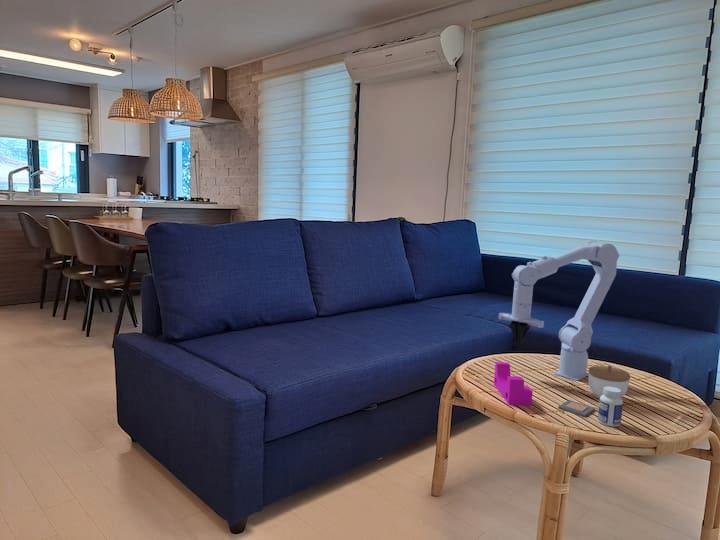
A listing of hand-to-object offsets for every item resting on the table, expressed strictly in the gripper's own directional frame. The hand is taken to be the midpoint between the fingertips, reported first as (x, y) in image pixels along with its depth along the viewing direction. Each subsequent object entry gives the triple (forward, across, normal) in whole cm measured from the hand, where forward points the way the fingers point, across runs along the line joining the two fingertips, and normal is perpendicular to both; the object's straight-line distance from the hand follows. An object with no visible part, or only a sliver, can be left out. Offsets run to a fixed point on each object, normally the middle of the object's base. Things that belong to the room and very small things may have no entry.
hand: (518, 345), depth 162 cm
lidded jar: (+10, +27, +2) cm, 29 cm away
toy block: (+10, +8, -19) cm, 23 cm away
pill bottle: (+10, +34, -16) cm, 39 cm away
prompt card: (+9, +25, -14) cm, 30 cm away
